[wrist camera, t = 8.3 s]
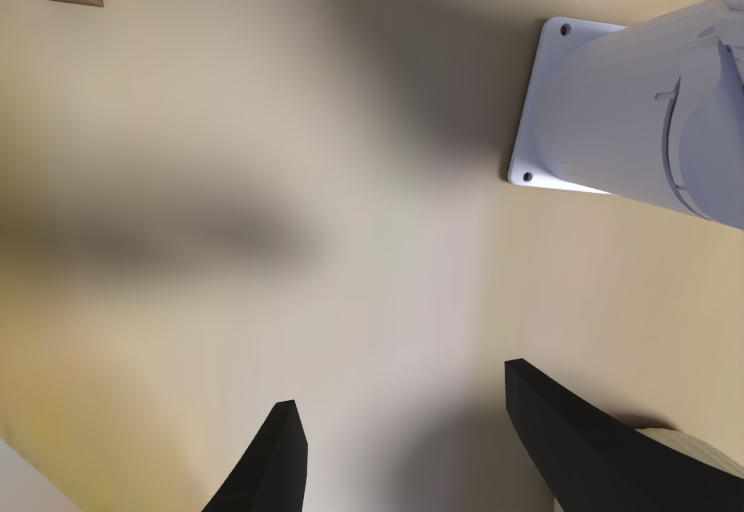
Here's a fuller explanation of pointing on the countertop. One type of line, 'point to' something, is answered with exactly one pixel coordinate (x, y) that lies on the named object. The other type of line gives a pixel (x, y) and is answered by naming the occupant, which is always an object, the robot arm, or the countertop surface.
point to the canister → (688, 452)
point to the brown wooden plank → (84, 2)
